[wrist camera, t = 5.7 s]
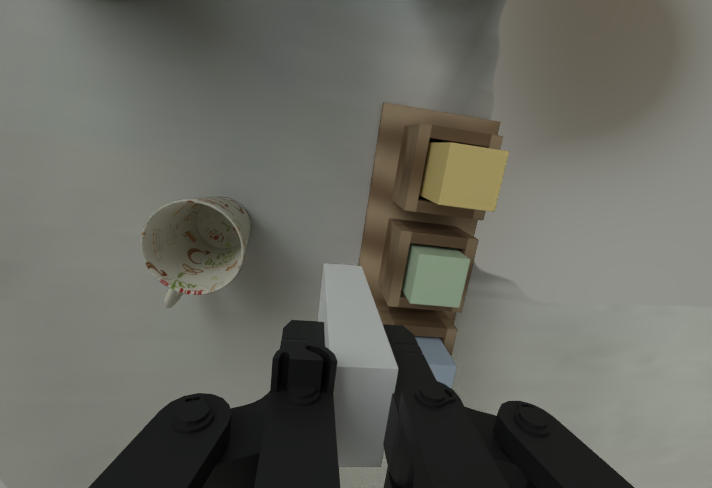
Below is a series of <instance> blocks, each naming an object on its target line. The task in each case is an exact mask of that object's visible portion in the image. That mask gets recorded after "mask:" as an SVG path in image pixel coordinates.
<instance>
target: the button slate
mask: <svg viewBox="0 0 712 488" xmlns="http://www.w3.org/2000/svg"><path fill="white" fill-rule="evenodd" d="M415 338H416V340H417V342H418V346H420V348H421V350H422V354H424V356H425V358H426V360H427V362H428V364H429V366H430V368H431V370H432V372H433V374H434V376H435V378H436V380H437V381H438V382H441V383H443V384H445V385H447V386H448V387H450V388H451V389H452V385H453V381H454V376H455V372H456V368H457V365H456V364H455V362H454V360H453V359H452V357H451V356H450V354H449V352H448V351H447V349H446V348H445V346H444V345H443V343H442V341H441V340H440V338H439V337H426V336H415Z"/></svg>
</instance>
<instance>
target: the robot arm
mask: <svg viewBox="0 0 712 488" xmlns="http://www.w3.org/2000/svg"><path fill="white" fill-rule="evenodd" d="M384 450H385V455H386V459H387V464H388V468H387V473H386V479H385V484H384V488H634V487H633V486H632V485H631V484H630V483H628V482H627V481H626V480H625V479H624V478H623V477H622V476H620V475H619V474H618V473H617V472H616V471H615V470H614V469H613V468H611V467H610V466H609V465H608V464H607V463H606V462H605V461H603V460H602V459H601V458H600V457H599V456H598V455H597V454H595V453H594V452H593V451H592V450H591V449H590V448H589V447H587V446H586V445H585V444H584V443H583V442H582V441H581V440H579V439H578V438H577V437H576V436H575V435H574V434H573V433H571V432H570V431H569V430H568V429H567V428H566V427H565V426H563V425H562V424H561V423H560V422H559V421H558V420H557V419H555V418H554V417H553V416H552V415H550V414H549V413H547V412H546V411H545V410H543V409H541V408H539V407H537V406H534V405H533V404H529V403H526V402H521V401H508V402H505V403H503V404H502V405H501V407H500V409H499V411H498V414H497V416H495V415H491V414H488V413H484V412H480V411H476V410H473V409H470V408H467V407H464V405H463V403H462V401H461V399H460V398H459V396H458V395H457V394H456V393H455V392H454V390H452V389H451V388H450V387H448V386H447V385H445V384H443V383H441V382H438V381H437V380H436V378H435V376H434V374H433V372H432V370H431V368H430V366H429V364H428V362H427V360H426V358H425V356H424V354H422V350H421V348H420V346H418V342H417V340H416V338H415V336H414V334H413V333H411V332H410V331H409V330H408V329H407V328H406V327H404V326H403V325H389V324H382V322H381V319H380V316H379V313H378V310H377V308H376V305H375V302H374V299H373V297H372V294H371V291H370V288H369V285H368V283H367V280H366V277H365V274H364V271H363V269H362V266H352V265H340V264H327V263H324V266H323V275H322V285H321V294H320V304H319V313H318V322H317V321H300V320H291V321H290V322H289V323H288V324H287V325H286V326H285V327H284V328H283V334H282V340H281V346H280V349H279V350H278V351H276V353H275V355H274V357H273V362H272V377H271V390H270V391H269V393H268V394H267V395H265V396H264V397H263V398H262V399H260V400H258V401H256V402H254V403H251V404H247V405H244V406H240V407H235V408H231V409H230V406H229V404H228V403H227V402H226V401H225V400H224V399H223V398H221V397H218V396H216V395H213V394H202V393H198V394H192V395H187V396H183V397H181V398H179V399H177V400H174V401H172V402H170V403H169V404H168V405H167V406H165V407H164V408H163V409H162V410H160V411H159V412H158V413H157V414H156V416H155V417H154V418H153V419H152V420H151V421H150V422H149V423H148V424H147V425H146V426H145V427H144V428H143V430H142V431H141V432H140V433H139V434H138V435H137V436H136V437H135V438H134V439H133V440H132V441H131V442H130V444H129V445H128V446H127V447H126V448H125V449H124V450H123V451H122V452H121V453H120V454H119V455H118V456H117V458H116V459H115V460H114V461H113V462H112V463H111V464H110V465H109V466H108V467H107V468H106V469H105V470H104V472H103V473H102V474H101V475H100V476H99V477H98V478H97V479H96V480H95V481H94V482H93V483H92V484H91V486H90V487H89V488H340V479H339V467H381V463H382V458H383V452H384Z"/></svg>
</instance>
